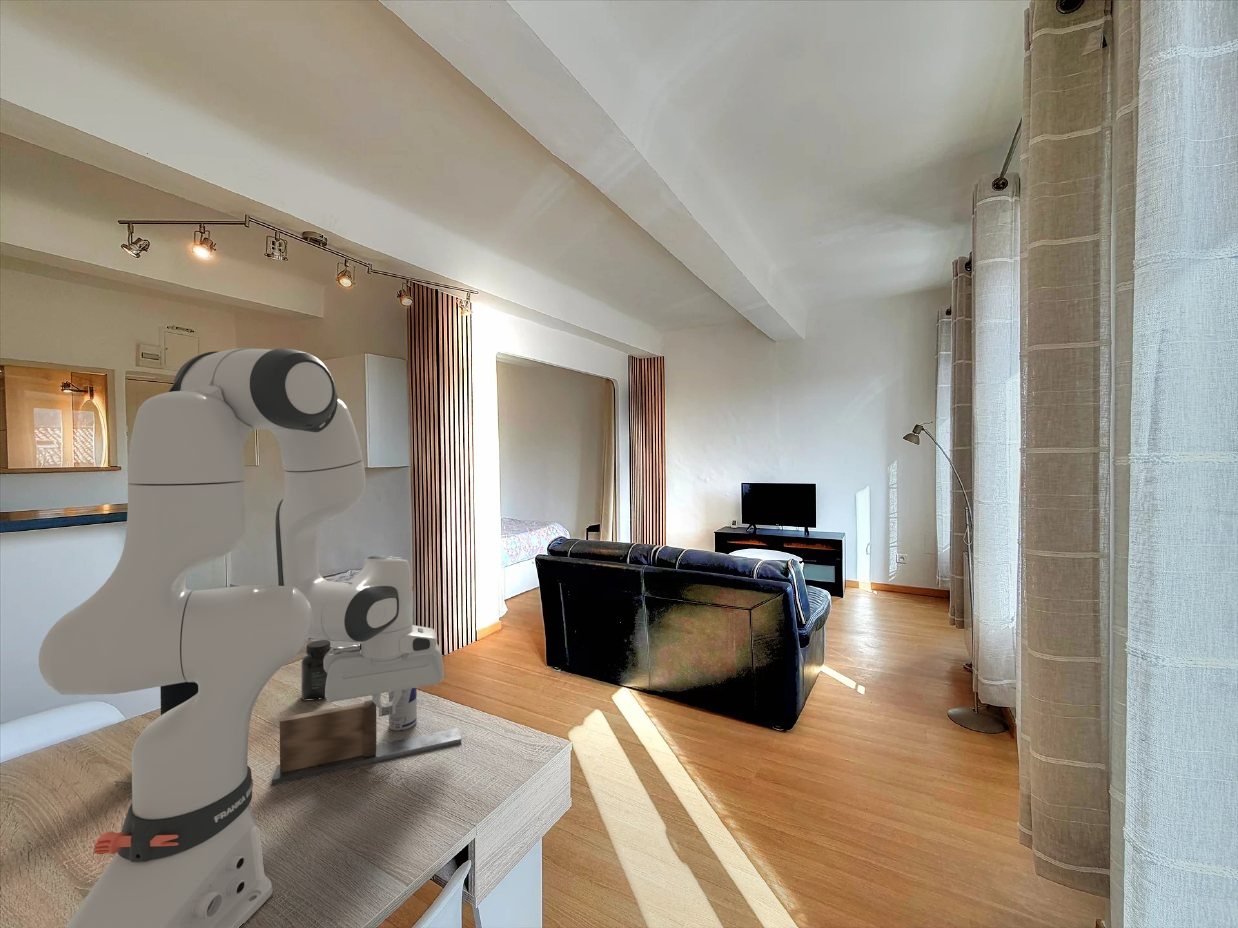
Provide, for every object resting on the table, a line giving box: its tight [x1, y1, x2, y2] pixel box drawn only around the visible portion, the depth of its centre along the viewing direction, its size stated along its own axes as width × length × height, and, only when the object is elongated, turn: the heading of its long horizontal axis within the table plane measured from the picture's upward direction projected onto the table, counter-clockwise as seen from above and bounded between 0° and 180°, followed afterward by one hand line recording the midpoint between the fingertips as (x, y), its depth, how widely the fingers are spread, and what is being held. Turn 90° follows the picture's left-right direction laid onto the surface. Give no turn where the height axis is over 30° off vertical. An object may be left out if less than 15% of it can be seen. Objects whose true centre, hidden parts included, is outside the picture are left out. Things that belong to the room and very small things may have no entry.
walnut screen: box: [279, 699, 377, 773], centre depth 90 cm, size 15×3×9 cm, turn 114°
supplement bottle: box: [300, 639, 333, 700], centre depth 117 cm, size 7×7×12 cm
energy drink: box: [388, 687, 418, 732], centre depth 104 cm, size 5×5×12 cm
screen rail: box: [271, 727, 462, 786], centre depth 93 cm, size 31×4×1 cm, turn 114°
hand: (387, 713), depth 94 cm, fingers closed
